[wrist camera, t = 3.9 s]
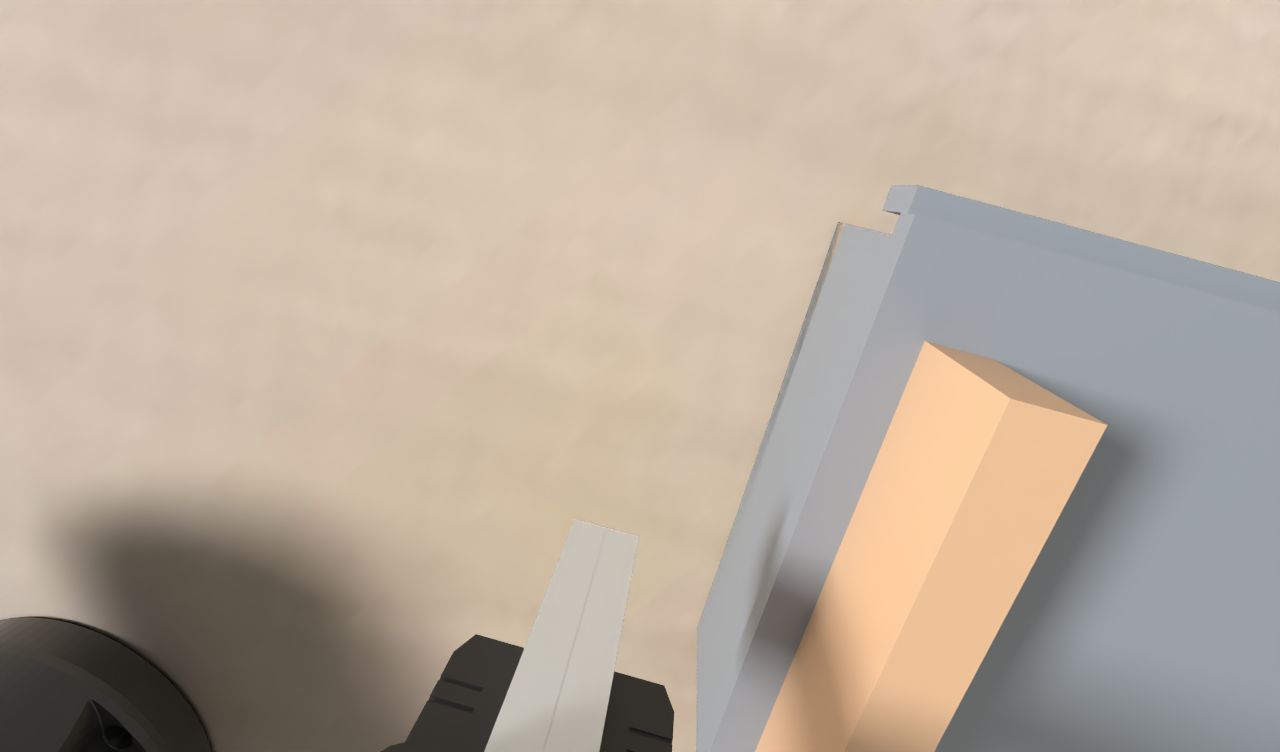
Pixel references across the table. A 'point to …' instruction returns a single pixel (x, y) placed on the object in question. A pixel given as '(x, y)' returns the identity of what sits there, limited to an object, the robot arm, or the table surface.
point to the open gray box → (785, 452)
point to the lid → (1029, 508)
